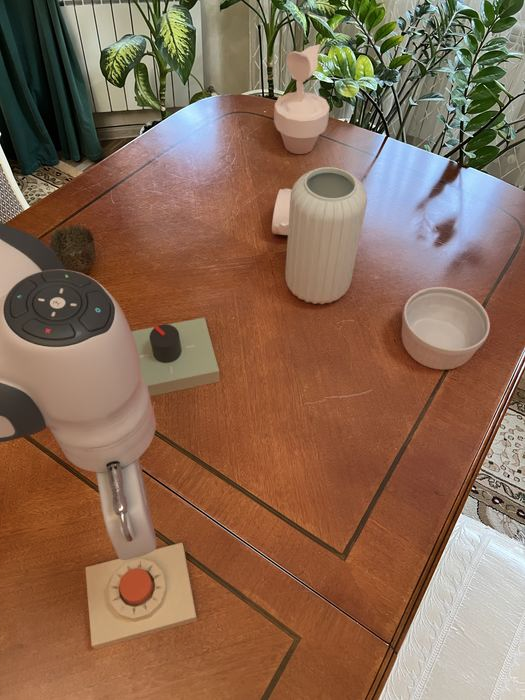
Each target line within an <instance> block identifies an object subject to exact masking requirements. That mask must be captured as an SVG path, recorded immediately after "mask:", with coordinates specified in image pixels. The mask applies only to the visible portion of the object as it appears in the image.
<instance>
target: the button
mask: <svg viewBox="0 0 525 700" xmlns="http://www.w3.org/2000/svg"><path fill="white" fill-rule="evenodd" d="M119 589H120V593H121V595H122V596H123V598H124V599H125V600H126V601H127V602H128V603H130V604H141V603H143V602H145V601H146V600H147V599H148V598H149V597H150V595H151V593H152V590H153V583H152V580H151V578H150V576H149V574H148V573H147V572H146V571H145V570H143V569H140V568H135V569H131V570H129V571H127V572H126V573H125V574H124V575H123V577H122V578H121V581H120V584H119Z"/></svg>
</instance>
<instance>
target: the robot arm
mask: <svg viewBox="0 0 525 700" xmlns="http://www.w3.org/2000/svg"><path fill="white" fill-rule="evenodd" d="M131 331H132V329H131V327H130V325H129V322H128V320H127V318H126V316H125V313H124V311H123V309H122V307H121V306H120V304H119V303H118V301H117V300H116V298H115V297H114V296H113V295H112V294H111V293H110V292H109V291H108V290H107V288H105V286H103V284H101V283H100V282H99V281H97V280H95V279H94V278H93V277H91V276H90V275H85V274H82V273H79V272H75V271H70V270H66V268H65V267H64V265H63V264H62V262H61V261H60V259H59V258H58V256H57V255H56V254H55V253H54V252H53V251H52V249H51V248H50V247H49V245H48V244H47V243H45V242H44V241H43V240H41V239H40V238H38V237H37V236H35V235H32V234H31V233H29V232H27V231H25V230H22V229H20V228H17V227H15V226H12V225H9V224H6V223H3V222H1V221H0V443H4V442H10V441H15V440H18V439H22V438H25V437H26V438H27V437H29V436H30V437H31V436H33V435H35V434H38V433H41V432H42V431H45V430H46V429H47V427H48V429H49V430H50V432H51V434H52V436H53V438H54V439H55V441H56V443H57V445H58V446H59V448H60V450H61V452H62V454H63V455H64V456H65V459H67V460H68V461H69V462H70V463H71V464H72V465H74V466H76V467H78V468H79V469H82V470H84V471H88V472H93V473H95V474H96V476H95V477H96V481H97V489H98V494H99V501H100V507H101V513H102V518H103V521H104V525H105V529H106V532H107V535H108V537H109V540H110V543H111V545H112V547H113V550H114V552H115V554H116V556H117V557H118V559H121V560H129V559H133V558H136V557H140V556H143V555H146V554H148V553H151V552H153V551H154V550H155V549H157V547H158V546H157V545H158V544H157V543H158V541H157V536H156V535H157V534H156V531H155V525H154V521H153V516H152V511H151V506H150V502H149V497H148V492H147V487H146V482H145V478H144V473H143V468H142V463H141V458H140V457H141V456H142V455H144V453H145V452H146V451H147V450H148V448H149V447H150V445H151V443H152V442H153V439H154V436H155V433H156V429H157V428H156V427H157V425H156V424H157V420H156V415H155V410H154V407H153V403H152V399H151V396H150V395H149V391H148V388H147V385H146V382H145V380H144V378H143V377H142V375H141V362H140V357H139V354H138V350H137V347H136V344H135V341H134V338H133V335H132V332H131Z"/></svg>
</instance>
